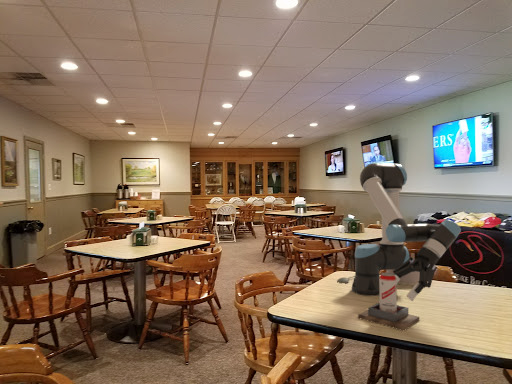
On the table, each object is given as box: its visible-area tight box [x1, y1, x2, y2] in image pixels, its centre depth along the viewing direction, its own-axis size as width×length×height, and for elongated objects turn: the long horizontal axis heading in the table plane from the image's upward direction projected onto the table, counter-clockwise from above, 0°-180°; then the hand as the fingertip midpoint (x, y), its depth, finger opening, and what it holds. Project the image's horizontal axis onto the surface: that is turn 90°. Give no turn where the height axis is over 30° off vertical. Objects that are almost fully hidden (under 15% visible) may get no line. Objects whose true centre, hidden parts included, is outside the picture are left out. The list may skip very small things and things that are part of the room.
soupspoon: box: [336, 275, 355, 285], centre depth 197 cm, size 22×3×7 cm
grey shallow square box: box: [367, 302, 409, 323], centre depth 134 cm, size 11×11×3 cm
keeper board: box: [357, 309, 420, 331], centre depth 134 cm, size 18×14×2 cm
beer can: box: [379, 272, 398, 313], centre depth 134 cm, size 6×6×16 cm
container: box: [385, 266, 420, 286], centre depth 193 cm, size 18×18×12 cm
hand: (398, 293), depth 134 cm, fingers open, 13 cm apart
